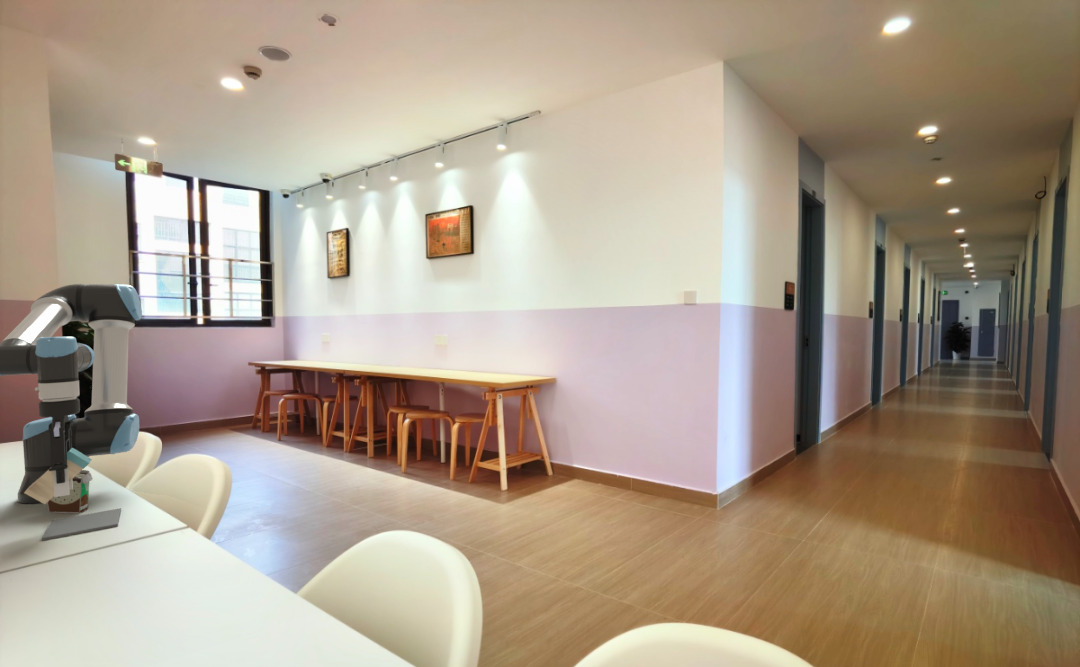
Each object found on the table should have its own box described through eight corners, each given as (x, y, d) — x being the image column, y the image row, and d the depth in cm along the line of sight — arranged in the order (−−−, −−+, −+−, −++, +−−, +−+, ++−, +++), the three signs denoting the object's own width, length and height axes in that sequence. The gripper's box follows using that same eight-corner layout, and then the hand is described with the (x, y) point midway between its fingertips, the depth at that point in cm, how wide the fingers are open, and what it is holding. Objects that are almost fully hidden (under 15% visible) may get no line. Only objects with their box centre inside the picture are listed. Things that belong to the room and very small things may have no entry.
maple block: (28, 487, 130) (72, 447, 135) (48, 499, 132) (91, 459, 137) (23, 492, 126) (69, 451, 131) (45, 504, 128) (89, 463, 133)
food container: (105, 505, 149) (104, 469, 149) (85, 513, 143) (83, 476, 142) (65, 504, 150) (64, 469, 150) (43, 512, 144) (41, 475, 144)
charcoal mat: (51, 522, 136) (51, 520, 136) (121, 510, 144) (121, 508, 144) (41, 540, 125) (41, 538, 125) (117, 526, 133) (117, 523, 133)
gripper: (45, 397, 137) (49, 487, 137) (31, 405, 122) (36, 505, 123) (83, 394, 141) (87, 481, 142) (74, 401, 126) (78, 499, 127)
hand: (63, 492), depth 132 cm, fingers closed on maple block, 5 cm apart
